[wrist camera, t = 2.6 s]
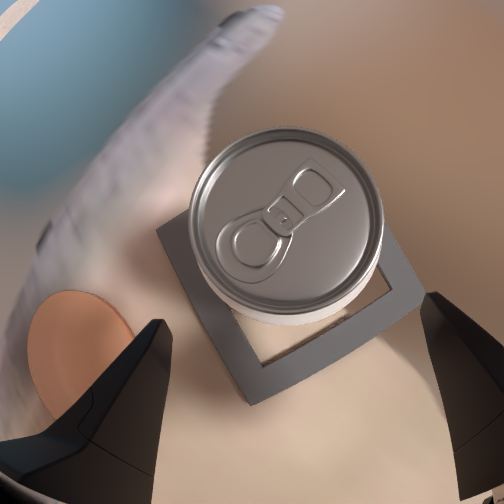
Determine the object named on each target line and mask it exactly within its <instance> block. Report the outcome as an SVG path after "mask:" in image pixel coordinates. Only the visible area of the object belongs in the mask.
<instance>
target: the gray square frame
mask: <svg viewBox="0 0 504 504" xmlns="http://www.w3.org/2000/svg"><path fill="white" fill-rule="evenodd" d="M188 213H189V209H188V210H186V211H185V212H183V213H181V214H180V215H178V216H177V217H175V218H174V219H172V220H171V221H169V222H167V223H166V224H164V225H163V226H161V227H160V228H158V229H157V230H156V232H157V234H158V236H159V238H160V240H161V242H162V245H163V247H164V249H165V251H166V253H167V255H168V257H169V259H170V261H171V263H172V265H173V267H174V269H175V272H176V274H177V276H178V278H179V280H180V282H181V284H182V286H183V287H184V289H185V291H186V293H187V295H188V297H189V299H190V301H191V303H192V305H193V307H194V309H195V311H196V313H197V314H198V316H199V318H200V320H201V322H202V324H203V326H204V327H205V329H206V331H207V333H208V335H209V336H210V338H211V340H212V342H213V344H214V345H215V347H216V349H217V351H218V353H219V354H220V356H221V358H222V360H223V361H224V363H225V365H226V366H227V368H228V370H229V372H230V373H231V375H232V377H233V378H234V380H235V382H236V383H237V385H238V387H239V388H240V390H241V392H242V393H243V395H244V396H245V398H246V400H247V401H248V403H249V405H250V406H252V405H255V404H257V403H259V402H261V401H263V400H265V399H267V398H269V397H271V396H273V395H275V394H277V393H279V392H281V391H283V390H285V389H287V388H289V387H291V386H293V385H295V384H297V383H299V382H300V381H302V380H304V379H306V378H308V377H310V376H311V375H313V374H315V373H317V372H319V371H320V370H322V369H324V368H326V367H327V366H329V365H331V364H332V363H334V362H336V361H337V360H339V359H341V358H342V357H344V356H346V355H347V354H349V353H351V352H352V351H354V350H355V349H357V348H359V347H360V346H362V345H363V344H365V343H366V342H368V341H369V340H371V339H372V338H374V337H375V336H377V335H378V334H380V333H381V332H383V331H384V330H386V329H387V328H389V327H390V326H391V325H393V324H394V323H396V322H397V321H399V320H400V319H401V318H403V317H404V316H405V315H407V314H408V313H410V312H411V311H412V310H413V309H415V308H416V307H418V306H419V305H420V304H421V303H422V302H423V299H424V296H425V294H426V292H425V290H424V288H423V286H422V285H421V283H420V281H419V279H418V277H417V275H416V274H415V272H414V270H413V268H412V267H411V265H410V263H409V261H408V260H407V258H406V256H405V254H404V253H403V251H402V249H401V248H400V246H399V244H398V243H397V241H396V239H395V238H394V236H393V234H392V233H391V231H390V230H389V228H388V226H387V225H386V224H385V222H384V233H383V239H382V245H381V251H380V255H379V259H378V262H377V265H376V266H377V267H378V269H379V271H380V272H381V274H382V276H383V278H384V279H385V281H386V283H387V285H388V286H389V288H390V290H389V291H388V292H386V293H385V294H383V295H382V296H380V297H379V298H378V299H376V300H375V301H373V302H372V303H370V304H369V305H367V306H366V307H364V308H363V309H361V310H359V311H358V312H356V313H355V314H353V315H352V316H350V317H349V318H347V319H345V320H344V321H342V322H341V323H339V324H337V325H336V326H334V327H333V328H331V329H329V330H328V331H326V332H324V333H323V334H321V335H319V336H318V337H316V338H314V339H312V340H311V341H309V342H307V343H306V344H304V345H302V346H300V347H299V348H297V349H295V350H293V351H291V352H290V353H288V354H286V355H284V356H282V357H281V358H279V359H277V360H275V361H273V362H271V363H269V364H267V365H266V366H264V367H263V366H262V364H261V363H260V361H259V359H258V358H257V356H256V354H255V352H254V351H253V349H252V347H251V346H250V344H249V342H248V340H247V339H246V337H245V335H244V333H243V332H242V330H241V328H240V326H239V325H238V323H237V321H236V319H235V317H234V316H233V314H232V312H231V310H230V309H229V307H228V305H227V304H226V303H225V302H224V301H223V300H222V299H221V298H220V297H219V296H218V295H217V294H216V293H215V292H214V291H213V290H212V288H211V287H210V286H209V284H208V283H207V281H206V279H205V278H204V276H203V274H202V272H201V270H200V268H199V265H198V262H197V259H196V257H195V254H194V252H193V249H192V245H191V241H190V236H189V228H188Z"/></svg>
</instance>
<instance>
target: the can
mask: <svg viewBox="0 0 504 504" xmlns="http://www.w3.org/2000/svg"><path fill="white" fill-rule="evenodd" d="M188 228H189V236H190V241H191V245H192V249H193V252H194V254H195V257H196V259H197V262H198V265H199V268H200V270H201V272H202V274H203V276H204V278H205V279H206V281H207V283H208V284H209V286H210V287H211V288H212V290H213V291H214V292H215V293H216V294H217V295H218V296H219V297H220V298H221V299H222V300H223V301H224V302H225V303H226V304H228V305H229V306H230V307H232V308H233V309H234V310H236V311H238V312H239V313H241V314H243V315H245V316H247V317H249V318H252V319H254V320H257V321H260V322H264V323H268V324H274V325H301V324H307V323H311V322H315V321H318V320H321V319H323V318H326V317H328V316H330V315H332V314H334V313H336V312H337V311H339V310H340V309H342V308H343V307H345V306H346V305H347V304H348V303H350V302H351V301H352V300H353V299H354V298H355V297H356V296H357V295H358V294H359V293H360V292H361V290H362V289H363V288H364V287H365V285H366V284H367V282H368V281H369V279H370V277H371V276H372V274H373V272H374V270H375V267H376V265H377V262H378V259H379V255H380V251H381V245H382V239H383V233H384V208H383V202H382V198H381V194H380V191H379V189H378V186H377V184H376V182H375V179H374V177H373V176H372V174H371V173H370V171H369V169H368V168H367V166H366V165H365V164H364V162H363V161H362V160H361V159H360V158H359V157H358V156H357V155H356V154H355V153H354V152H353V151H352V150H351V149H350V148H348V147H347V146H346V145H344V144H343V143H341V142H340V141H338V140H337V139H335V138H333V137H331V136H329V135H327V134H324V133H322V132H319V131H316V130H312V129H308V128H303V127H295V126H278V127H270V128H265V129H261V130H257V131H254V132H251V133H249V134H246V135H244V136H242V137H240V138H238V139H236V140H235V141H233V142H232V143H230V144H228V145H227V146H226V147H224V148H223V149H222V150H221V151H220V152H219V153H218V154H216V156H215V157H214V158H213V159H212V160H211V161H210V162H209V163H208V165H207V166H206V167H205V169H204V170H203V172H202V173H201V175H200V177H199V179H198V181H197V183H196V185H195V188H194V190H193V193H192V197H191V201H190V206H189V213H188Z"/></svg>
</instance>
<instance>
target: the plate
mask: <svg viewBox="0 0 504 504" xmlns="http://www.w3.org/2000/svg"><path fill="white" fill-rule="evenodd" d="M134 338H135V336H134V334H133V332H132V330H131V328H130V327H129V325H128V324H127V322H126V321H125V320H124V318H123V317H122V316H121V315H120V314H119V312H118V311H117V310H116V309H115V308H114V307H113V306H111V305H110V304H109V303H108V302H106V301H105V300H104V299H102V298H100V297H98V296H96V295H94V294H91V293H87V292H81V291H62V292H58V293H55V294H53V295H51V296H50V297H49V298H47V299H46V300H45V301H44V302H43V303H42V304H41V305H40V307H39V308H38V309H37V311H36V313H35V315H34V317H33V319H32V322H31V325H30V329H29V334H28V344H27V353H28V363H29V368H30V373H31V377H32V380H33V383H34V386H35V388H36V391H37V393H38V395H39V397H40V399H41V400H42V402H43V404H44V405H45V407H46V408H47V410H48V411H49V412H50V414H51V415H52V416H53V417H54V418H55V419H56V420H57V419H58V418H59V417H60V416H61V415H62V414H64V413H65V412H66V411H67V410H68V409H69V408H70V407H71V406H72V405H73V404H74V403H75V402H76V401H77V400H78V399H79V398H80V397H81V396H82V395H83V394H84V393H85V392H86V390H87V389H88V388H89V387H90V386H92V384H93V383H94V382H95V381H96V379H97V378H98V377H99V376H100V375H101V374H102V373H103V372H104V371H105V370H106V368H107V367H108V366H109V365H110V364H111V363H112V362H113V361H114V360H115V359H116V358H117V357H118V355H119V354H120V353H121V352H122V351H123V350H124V349H125V348H126V347H127V346H128V345H129V344H130V343H131V341H132V340H133V339H134Z"/></svg>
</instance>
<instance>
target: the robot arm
mask: <svg viewBox="0 0 504 504" xmlns="http://www.w3.org/2000/svg"><path fill="white" fill-rule="evenodd" d="M420 316H421V320H422V324H423V328H424V333H425V338H426V343H427V347H428V352H429V355H430V359H431V362H432V365H433V369H434V372H435V375H436V379H437V383H438V386H439V390H440V394H441V397H442V401H443V405H444V410H445V414H446V418H447V423H448V427H449V432H450V437H451V442H452V448H453V452H454V453H453V454H454V460H455V467H456V473H457V481H458V489H459V498H460V501H462V500H465V499H468V498H471V497H473V496H476V495H479V494H481V493H484V492H486V491H489V490H491V489H492V493H493V495H492V496H490V497H488V498H486V499H485V500H484V501H483V503H482V504H504V346H503V345H502V344H500V343H499V342H498V341H497V340H496V339H495V338H494V337H493V336H491V335H490V334H489V333H488V332H487V331H486V330H484V329H483V328H482V327H481V326H480V325H478V324H477V323H476V322H475V321H474V320H472V319H471V318H470V317H469V316H467V315H466V314H465V313H464V312H463V311H461V310H460V309H459V308H458V307H456V306H455V305H454V304H453V303H451V302H450V301H449V300H447V299H446V298H445V297H444V296H442V295H441V294H440V293H438V292H437V291H433V292H428V293H426V294H425V296H424V299H423V302H422V305H421V309H420ZM172 342H173V337H172V333H171V331H170V329H169V327H168V325H167V324H166V322H165V320H164V319H153V320H151V321H150V322H149V323H148V324H147V325H146V327H145V328H144V329H143V330H142V331H141V332H140V333H139V334H138V335H137V336H136V337H135V338H134V339H133V340H132V341H131V343H130V344H129V345H128V346H127V347H126V348H125V349H124V350H123V351H122V352H121V353H120V354H119V355H118V357H117V358H116V359H115V360H114V361H113V362H112V363H111V364H110V365H109V366H108V367H107V368H106V370H105V371H104V372H103V373H102V374H101V375H100V376H99V377H98V378H97V379H96V381H95V382H94V383H93V384H92V386H90V387H89V388H88V389H87V390H86V392H85V393H84V394H83V395H82V396H81V397H80V398H79V399H78V400H77V401H76V402H75V403H74V404H73V405H72V406H71V407H70V408H69V409H68V410H67V411H66V412H65V413H64V414H62V415H61V416H60V417H59V418H58V419H57V420H56V421H55V422H54V423H53V424H52V425H51V426H49V427H48V428H47V429H46V430H45V431H43V432H41V433H39V434H37V435H33V436H28V437H24V438H18V439H13V440H7V441H2V442H0V504H151V500H152V491H153V483H154V474H155V466H156V459H157V452H158V445H159V438H160V432H161V425H162V419H163V413H164V407H165V401H166V396H167V390H168V385H169V378H170V368H171V354H172Z"/></svg>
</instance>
